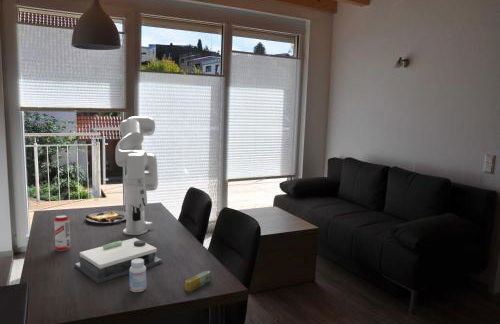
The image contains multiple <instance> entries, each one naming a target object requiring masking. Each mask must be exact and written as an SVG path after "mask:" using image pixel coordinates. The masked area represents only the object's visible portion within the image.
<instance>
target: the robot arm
mask: <svg viewBox="0 0 500 324" xmlns="http://www.w3.org/2000/svg"><path fill="white" fill-rule="evenodd" d="M155 130H156V122H155V119H154V118H153V117H151V116H137V115H135V116H130V117H127V119H123V120H122V121H120V124H119V133H120V136H121V137H122V138H121V139H120V140H119V141H118V142H117V144H116V146H115V155H114V156H115V157H114V158H115V163H116V165H117V166H118V167H122V168H126V175H124V177H123V179H122V181H123V182H122V183H123V189H124V195H125V196H124V198H125V212H126V220H125V228H124V229H123V230H122V231H123V234H124V235H128V236H139V235H143V234H146V233H147V232H148V227H150V226H153V225H154V224H153V221H145V207H147V206H148V195H147V194H148V193H147V192H152V191H156V190H157V189H158V185H159V179H158V177H159V176H158V160H157V157H156V155H155V154H154V153H151V152H149V153H148V152H147V151H146V150H144V149H143V144H142V143H143V141H144V136H145V137H146V136H147V137H148V136H151V137H152V136H153V135H154V133H155Z"/></svg>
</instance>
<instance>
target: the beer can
mask: <svg viewBox="0 0 500 324" xmlns="http://www.w3.org/2000/svg"><path fill="white" fill-rule="evenodd" d="M53 221H54V224H53V225H54V242H55V246H54V247H55V250H56V251H58V252H65V251H68V250H69V249H70V248H71V232H70V231H71V230H70V229H71V228H70V218H69V216H68V214H59V215H56V216H55V218H54V220H53Z"/></svg>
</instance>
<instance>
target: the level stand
mask: <svg viewBox="0 0 500 324" xmlns="http://www.w3.org/2000/svg"><path fill="white" fill-rule="evenodd" d="M155 253H156V252H154V253H150V254H147V255H144V256H141V257H137V258H140V259H143V260H144V266H145V267H146V269H148V268H151V267H153V266H156V265H160V264H162V263H163V259H161V258H160V257H157V256H156V254H155ZM137 258H134V259H137ZM132 260H133V259H131V260H127V261H124V262H121V263H117V264H114V265H111V266H107V267H104V268H101V269H100V268H98V267H96V266H95V265H93V264H92V263H90V262H89V261H87V260H86V259H84V258H82V257H81V256H80V257H79V262H76V263H74V268H76V269H77V270H78V271H80V272H82V273H83V274H84V275H86V276H87V277H89V278H90V279H91V280H93V281H94V282H96V283H97V284H101V283H103V282H107V281H110V280H113V279H116V278H119V277H123V276H125V275H129V269H130V267H131V266H132V265H131V261H132ZM150 266H151V267H150Z"/></svg>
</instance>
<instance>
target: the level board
mask: <svg viewBox="0 0 500 324" xmlns="http://www.w3.org/2000/svg"><path fill="white" fill-rule="evenodd" d="M154 252H155V253H156V252H158V248H157V247H155V246H153V245H151V244H149V243H147V242H146V241H145V240H142V239H138V238H136V237H133V238H129V239H125V240H118V241H114V242H109V243H107V244H103V245H101V246H99V247H95V248H90V249H87V250H83V251H79V256H80V257H82V258H84V259H86V260H87V261H89V262H90V263H92V264H93V265H95V266H96V267H98V268H100V269H101V268H104V267H107V266H111V265H114V264H117V263H121V262H124V261H127V260H131V259H134V258H137V257H141V256H144V255H147V254H150V253H154Z"/></svg>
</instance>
